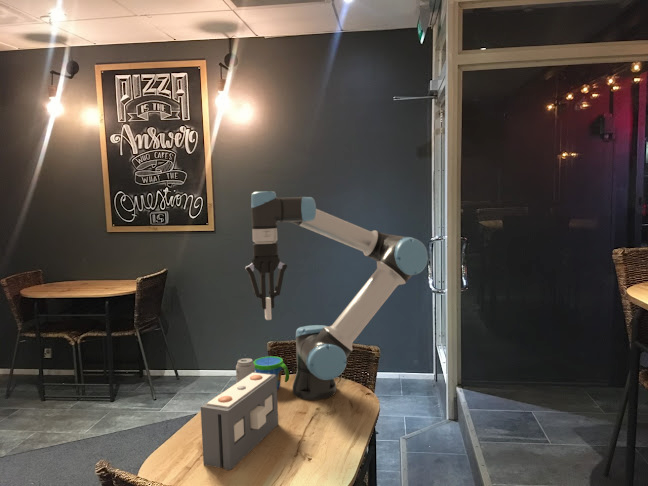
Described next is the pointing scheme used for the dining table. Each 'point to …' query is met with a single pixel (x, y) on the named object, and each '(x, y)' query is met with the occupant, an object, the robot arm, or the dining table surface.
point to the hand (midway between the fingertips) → (268, 318)
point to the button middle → (257, 417)
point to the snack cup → (272, 367)
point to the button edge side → (238, 429)
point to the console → (221, 426)
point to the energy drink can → (244, 368)
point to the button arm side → (268, 404)
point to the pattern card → (239, 390)
